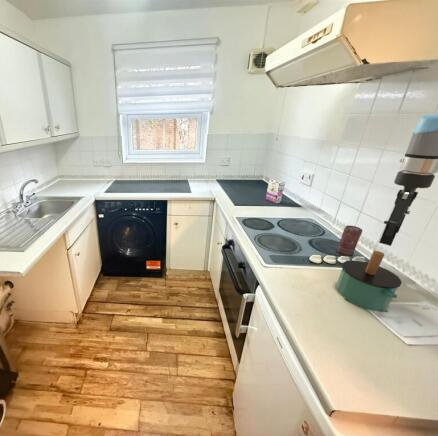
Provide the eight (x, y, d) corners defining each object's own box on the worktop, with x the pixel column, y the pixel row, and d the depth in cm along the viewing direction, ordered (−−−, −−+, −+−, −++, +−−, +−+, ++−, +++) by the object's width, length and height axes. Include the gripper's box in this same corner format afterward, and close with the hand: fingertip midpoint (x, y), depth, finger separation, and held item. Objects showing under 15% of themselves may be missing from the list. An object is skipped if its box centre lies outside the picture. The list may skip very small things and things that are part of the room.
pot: (361, 279, 95) (370, 259, 91) (407, 318, 77) (420, 295, 73) (323, 277, 96) (330, 257, 93) (358, 314, 78) (368, 291, 74)
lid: (375, 264, 89) (385, 242, 86) (414, 291, 75) (427, 267, 72) (331, 261, 91) (339, 240, 87) (361, 288, 77) (371, 264, 73)
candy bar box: (280, 203, 180) (285, 182, 174) (275, 204, 179) (280, 182, 173) (270, 199, 190) (274, 179, 184) (264, 199, 189) (268, 179, 183)
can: (355, 258, 109) (365, 231, 104) (338, 256, 111) (348, 229, 106) (349, 252, 114) (359, 226, 109) (334, 250, 116) (343, 224, 111)
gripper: (404, 165, 79) (381, 223, 87) (391, 176, 64) (364, 245, 72) (438, 168, 73) (410, 230, 82) (432, 181, 59) (399, 255, 67)
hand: (388, 237), depth 77 cm, fingers open, 13 cm apart
